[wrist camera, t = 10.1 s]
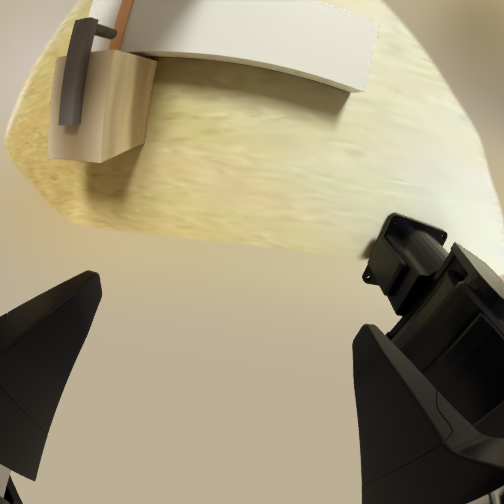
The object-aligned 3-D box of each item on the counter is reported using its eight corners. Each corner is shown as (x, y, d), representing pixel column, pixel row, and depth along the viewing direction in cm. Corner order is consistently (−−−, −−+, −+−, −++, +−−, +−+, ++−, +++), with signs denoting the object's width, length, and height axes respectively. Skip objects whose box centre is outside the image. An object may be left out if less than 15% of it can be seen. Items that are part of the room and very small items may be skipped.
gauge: (163, 37, 13) (115, 12, 7) (144, 142, 17) (92, 166, 11) (113, 39, 13) (55, 25, 7) (99, 139, 17) (40, 162, 11)
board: (365, 31, 12) (380, 22, 10) (351, 92, 15) (364, 91, 12) (112, 1, 11) (94, -7, 8) (97, 58, 13) (76, 56, 11)
